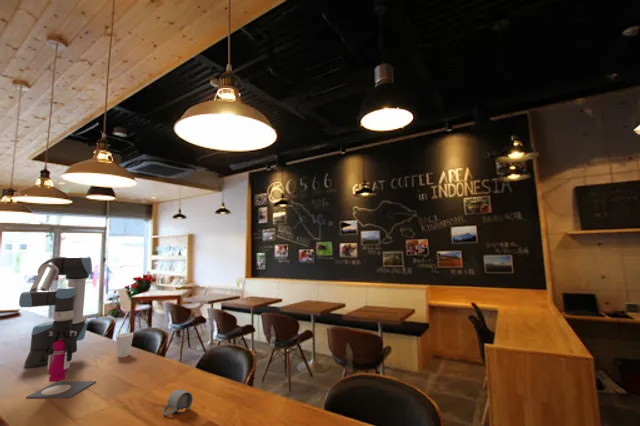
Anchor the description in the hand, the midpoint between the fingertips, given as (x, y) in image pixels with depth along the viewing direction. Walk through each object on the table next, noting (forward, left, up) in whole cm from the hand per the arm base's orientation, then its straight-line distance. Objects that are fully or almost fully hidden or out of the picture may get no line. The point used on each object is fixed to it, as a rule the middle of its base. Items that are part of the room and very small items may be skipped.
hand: (58, 368), depth 150 cm
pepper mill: (0, 0, -5) cm, 5 cm away
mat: (+2, +2, -11) cm, 11 cm away
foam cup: (+1, +52, -11) cm, 53 cm away
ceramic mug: (+66, -20, -11) cm, 70 cm away
